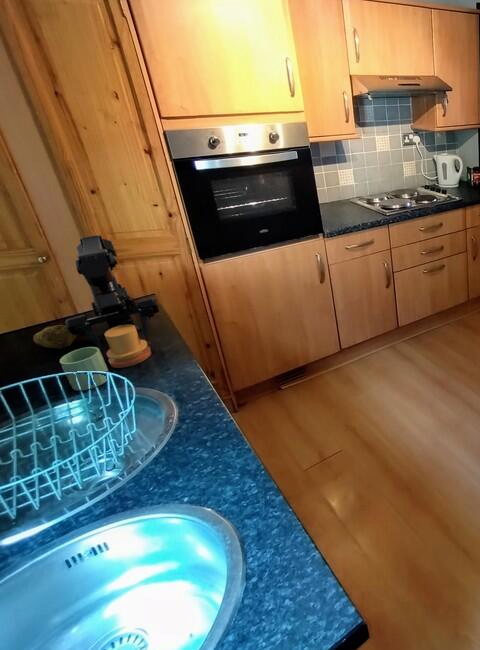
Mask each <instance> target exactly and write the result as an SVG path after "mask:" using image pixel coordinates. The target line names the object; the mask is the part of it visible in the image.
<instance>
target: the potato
mask: <svg viewBox="0 0 480 650" xmlns="http://www.w3.org/2000/svg"><path fill="white" fill-rule="evenodd" d="M32 338H33V339H32V341H33V342H34V343H35V344H36V345H37V346H40V347H43V348H47V349H57V350H59V349H63V348H67V347H70V346H71V345H72V344H73V343H74V341H75V340H76V339H77V335H72V334H71V333H70V331H69V330H68V329H67V326H66V324H57V325H56V324H55V325H50V326H47V327H45V328H43V329H42V330H41V331H38V332H37V333H35V334H34V335H33V337H32Z"/></svg>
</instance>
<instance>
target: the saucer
mask: <svg viewBox="0 0 480 650" xmlns="http://www.w3.org/2000/svg"><path fill="white" fill-rule="evenodd" d="M151 355H152V351H151V347H149V346H148V345H147V347H146V348H145V349H144V350H143V351H141V353H140V354H139V355H137V356H136V357H133V358H130V359H126V360H119V359H111V358H109V357H108V360H107V361H108V364H109V366H110V367H111V368H114V369H115V368H116V369H123V368H129V367H132V366H135V365H138V364H140V363H142V362H144V361H145V360H147V359H148V358H149V357H150V356H151Z"/></svg>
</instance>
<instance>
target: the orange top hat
mask: <svg viewBox="0 0 480 650" xmlns="http://www.w3.org/2000/svg"><path fill="white" fill-rule="evenodd" d="M135 326H136V325H135ZM135 326H134V325H132V324H125V325H120V326H116V327H114V328H111V329H109V328H108V329H107V330H106V331H105V332H104V334H103V335H104V338H105V340H106V342H107V345H108V347H109V348H108V350H107V351H106V356H107V358H108V359H109V358H111V359H119V360H126V359H130V358H133V357H136V356H137V355H139V354H140V353H141V351H143V350H144V349H145V348H146V347H147V346H148V342H147V340H145V339H141V338H140V335H139V333H138V331H137V330H136V328H135Z"/></svg>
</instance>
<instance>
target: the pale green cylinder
mask: <svg viewBox="0 0 480 650" xmlns="http://www.w3.org/2000/svg"><path fill="white" fill-rule="evenodd" d="M59 364H60V366H61V368H62V370H63V372H64V373H65V372H77V371H109V372H110V370H109V368H108V366H107V364H106V362H105V359H104V356H103V354H102V352H101V349H100V348H99V347H98V346H87V347H81V348H78V349H74V350H72V351H70V352H68V353H66V354H64V355H63V356H61V358H60V359H59ZM65 376H66V378H67V380H68V383H69V384H70V386H71V388H72V389H73V390H74V391H78V392H81V391H88V390H89V389H88V375H87V374H84V373H81V374H77V378H78V381H79V383H80V385H81V391H79V388H78V386H77V383H76V375H75V374H69V375H66V374H65ZM93 380H94V382H95V383H96V384H97V387H100V386H102V385H103V384H105V383H106V382H108V380H107V379H106V376H104V375H101V374H94V375H93ZM95 388H96V387H95V385H94V384H93V385H91V389H90V390H92V389H95Z"/></svg>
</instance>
